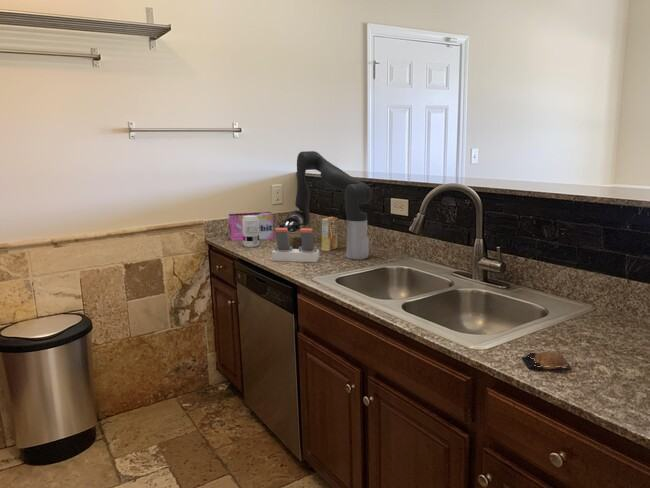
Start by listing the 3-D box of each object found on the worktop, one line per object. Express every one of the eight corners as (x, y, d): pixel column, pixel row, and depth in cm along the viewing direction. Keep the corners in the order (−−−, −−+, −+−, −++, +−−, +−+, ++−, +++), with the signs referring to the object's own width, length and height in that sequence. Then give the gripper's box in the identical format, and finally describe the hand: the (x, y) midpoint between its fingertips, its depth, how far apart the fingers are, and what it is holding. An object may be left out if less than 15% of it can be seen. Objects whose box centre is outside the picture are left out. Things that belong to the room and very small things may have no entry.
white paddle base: (319, 258, 223) (319, 245, 222) (316, 262, 217) (316, 249, 215) (275, 257, 226) (275, 244, 225) (272, 260, 219) (271, 247, 218)
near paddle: (314, 249, 220) (312, 228, 215) (313, 251, 219) (311, 230, 213) (302, 249, 221) (300, 228, 215) (301, 251, 220) (300, 230, 214)
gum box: (229, 241, 261) (228, 216, 258) (227, 238, 268) (226, 213, 265) (274, 238, 268) (273, 213, 265) (270, 235, 275) (270, 211, 273)
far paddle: (289, 249, 222) (287, 227, 216) (289, 250, 221) (286, 229, 215) (278, 248, 223) (275, 227, 217) (277, 250, 221) (275, 229, 215)
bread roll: (562, 359, 123) (563, 345, 122) (577, 375, 115) (579, 360, 114) (518, 358, 123) (519, 344, 123) (530, 374, 115) (532, 359, 114)
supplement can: (239, 246, 248) (238, 216, 245) (249, 243, 255) (248, 214, 252) (253, 248, 245) (252, 218, 241) (262, 245, 252) (261, 215, 249)
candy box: (330, 247, 247) (330, 216, 244) (337, 247, 245) (337, 217, 242) (321, 250, 239) (321, 219, 236) (328, 251, 237) (328, 219, 234)
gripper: (280, 215, 246) (271, 220, 230) (306, 215, 245) (300, 221, 228) (280, 230, 248) (272, 236, 231) (306, 230, 246) (300, 237, 229)
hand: (286, 229), depth 229 cm, fingers closed
